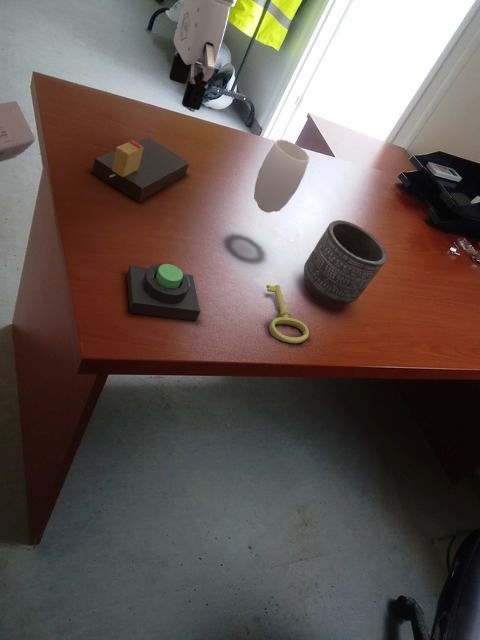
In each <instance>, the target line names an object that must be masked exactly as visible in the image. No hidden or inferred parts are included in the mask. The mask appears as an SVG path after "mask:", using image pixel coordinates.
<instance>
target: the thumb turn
mask: <svg viewBox="0 0 480 640" xmlns="http://www.w3.org/2000/svg"><path fill="white" fill-rule="evenodd" d="M137 142H138V141H135V140H134V139H132V140H129V141H128V142H126V143H122V144H121V145H118V146H116V147H115V150H116V151H115V150H114V151H115V156H114V161H113V166H112V171H114V172H115V173H117V174H118V175H120V176H122V177H124V176H126V175H129V174H131V173H133V172H135V171H137V170H138V169H139V165H140V161H141V157H142V153H143V149H144V148H143V146H142V145H140V144H139V143H137Z"/></svg>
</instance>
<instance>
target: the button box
mask: <svg viewBox="0 0 480 640" xmlns="http://www.w3.org/2000/svg"><path fill="white" fill-rule="evenodd" d="M161 265H163V263H156V264H153V265H150V266H149V267H145V266H140V265H134V264H129V266H128V270H127V273H126V281H127V295H128V309H129V313H130V314H137V315H145V316H153V317H162V318H170V319H177V320H186V321H193V322H196V321H197V320H198V318H199V316H200V313H201V307H200V302H199V297H198V293H197V288H196V283H195V277H194V275H192V274H188V273H184V272H183V271H182V270H181V272H182V274H183V277H182V280H181V282H180V285H179V287H178V288H176V289H168V288H165V287H163V286H161V285H159V284H158V283H157V281H156V274H157V272H158V269H159V267H160V266H161Z"/></svg>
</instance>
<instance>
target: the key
mask: <svg viewBox="0 0 480 640" xmlns="http://www.w3.org/2000/svg"><path fill="white" fill-rule="evenodd" d="M265 288H266V291H267V292H269V293H274V295H275V298H276V303H277V306H278V309H279V314H278V315H279V316H278V317H276V318H274V319H272V321H270V323H269V325H268V332H269V334H270V335H271V336H272V337H273V338H275V339H277V340H278V341H281V342H283V343H288V344H300V343H303V342H305V341H307V340H308V337H309V335H310V331H309V328H308V326H307V325H306V324H305V323H304V322H303V321H300V320H299V319H296V318H293V317H291V312H290V311H289V310H288V309H287V306H286V302H285V299H284V296H283V292H282V289H281V285H280V284H275V285H269V284H267V285H266V286H265ZM276 325H287V326H292V327H294V328H297V329H298V330H300V331H301V333H302V335H301V336H297V337H294V336H288V335H285V334H283V333H281V332H280V331H279V330H277V327H276Z"/></svg>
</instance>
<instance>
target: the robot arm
mask: <svg viewBox="0 0 480 640" xmlns="http://www.w3.org/2000/svg"><path fill="white" fill-rule="evenodd" d="M236 2H237V0H184V1H183V5H182V7H181V11H180V15H179V18H178V21H177V25H176V28H175V32H174V35H173V45H174V47H175V50H174V55H173V60H172V64H171V68H170V70H169V71H170V72H169V76H168V78H169V80H170V81H173V82H176V83H180V84H182V85H185V84H186V86H185V90H184V94H183V98H182V101H181V104H182V106H183V107H185V108H189V109H192V110H196V111H199V110H200V109H201V107H202V104H203V100H204V97H205V95H206V90H207V89H208V87H209V83H210V82H211V80H212V76H213V74H214V73H215V70H216V62H217V61H218V57H219V53H220V50H221V46H222V43H223V39H224V35H225V32H226V28H227V24H228V19H229V15H230V10H231V9H230V8H231V7H235V5H236ZM198 71H199V72H198ZM197 72H198V74H197ZM189 75H190V80H188V78H189Z"/></svg>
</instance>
